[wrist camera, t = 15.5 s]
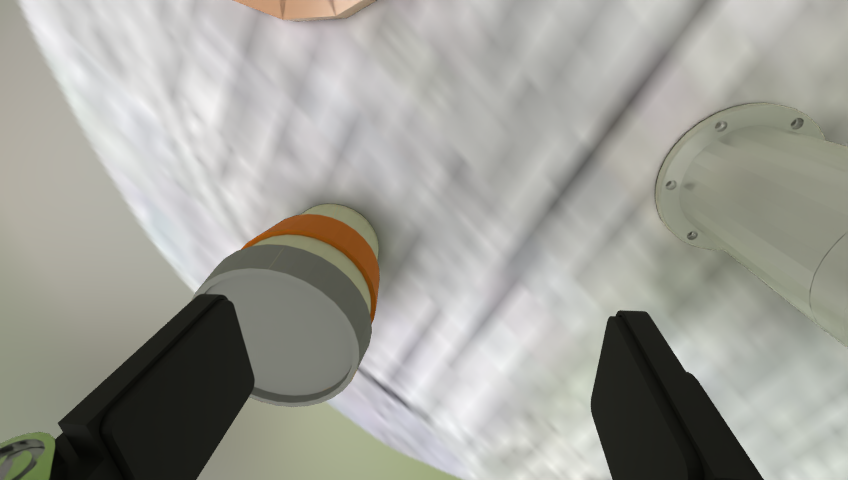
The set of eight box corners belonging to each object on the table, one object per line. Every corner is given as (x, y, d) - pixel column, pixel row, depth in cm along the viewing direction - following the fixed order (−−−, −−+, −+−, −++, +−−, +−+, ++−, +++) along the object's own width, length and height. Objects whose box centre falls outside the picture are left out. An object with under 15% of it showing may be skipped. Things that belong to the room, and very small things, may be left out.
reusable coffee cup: (318, 311, 45) (256, 426, 31) (250, 217, 40) (144, 304, 27) (418, 271, 41) (396, 382, 28) (355, 164, 37) (294, 234, 23)
